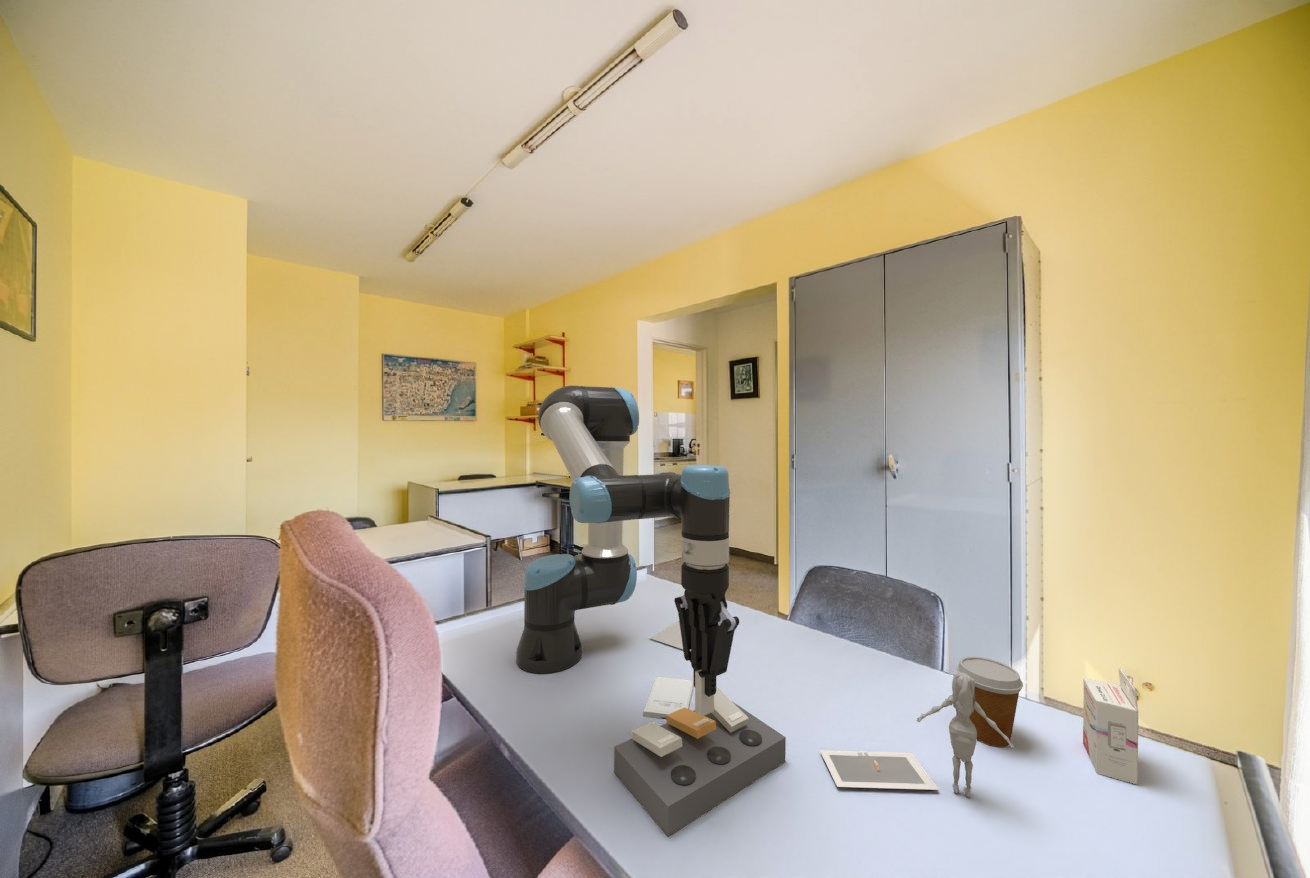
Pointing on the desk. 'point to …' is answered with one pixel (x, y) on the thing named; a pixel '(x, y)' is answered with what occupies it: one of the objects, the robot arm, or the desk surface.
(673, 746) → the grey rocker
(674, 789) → the rocker switch box
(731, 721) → the block
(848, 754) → the white picture frame
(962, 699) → the human figurine
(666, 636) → the paper stack
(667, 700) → the external hard drive
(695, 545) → the robot arm
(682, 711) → the orange labeled box
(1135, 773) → the ink cartridge box
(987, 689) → the disposable coffee cup
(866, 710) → the desk surface
